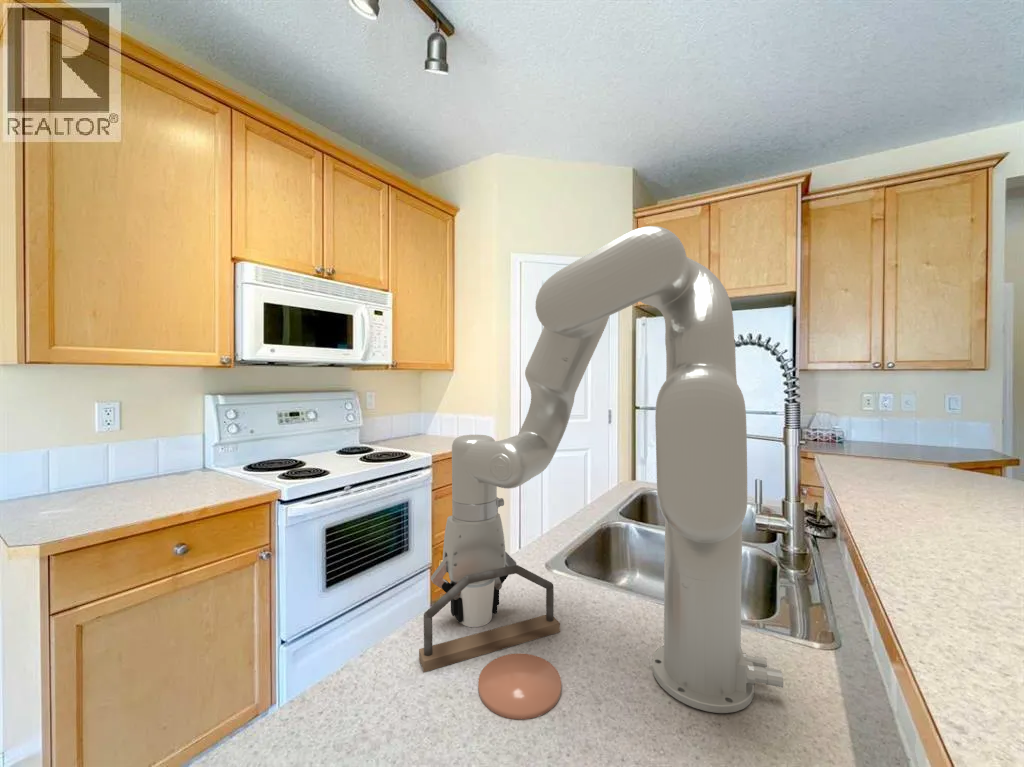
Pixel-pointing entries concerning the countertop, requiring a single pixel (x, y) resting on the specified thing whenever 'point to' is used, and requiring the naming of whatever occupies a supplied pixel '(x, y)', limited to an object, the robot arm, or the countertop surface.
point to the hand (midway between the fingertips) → (475, 612)
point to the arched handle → (492, 638)
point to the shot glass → (477, 603)
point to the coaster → (519, 686)
